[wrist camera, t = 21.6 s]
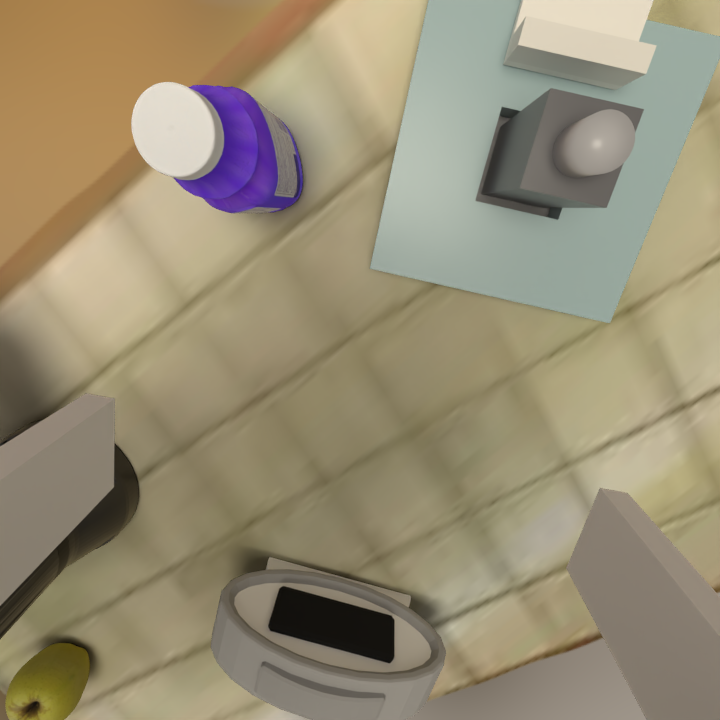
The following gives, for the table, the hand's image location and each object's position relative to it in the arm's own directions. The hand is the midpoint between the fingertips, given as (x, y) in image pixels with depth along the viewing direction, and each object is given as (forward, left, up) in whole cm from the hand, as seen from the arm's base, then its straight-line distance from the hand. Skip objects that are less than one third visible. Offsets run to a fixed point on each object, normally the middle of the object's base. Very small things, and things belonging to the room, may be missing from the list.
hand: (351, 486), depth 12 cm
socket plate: (+9, +12, -30) cm, 33 cm away
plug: (+9, +12, -29) cm, 33 cm away
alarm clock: (+3, -35, -30) cm, 46 cm away
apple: (-28, -55, -30) cm, 69 cm away
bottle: (-11, +8, -30) cm, 33 cm away
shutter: (+9, +22, -26) cm, 35 cm away
